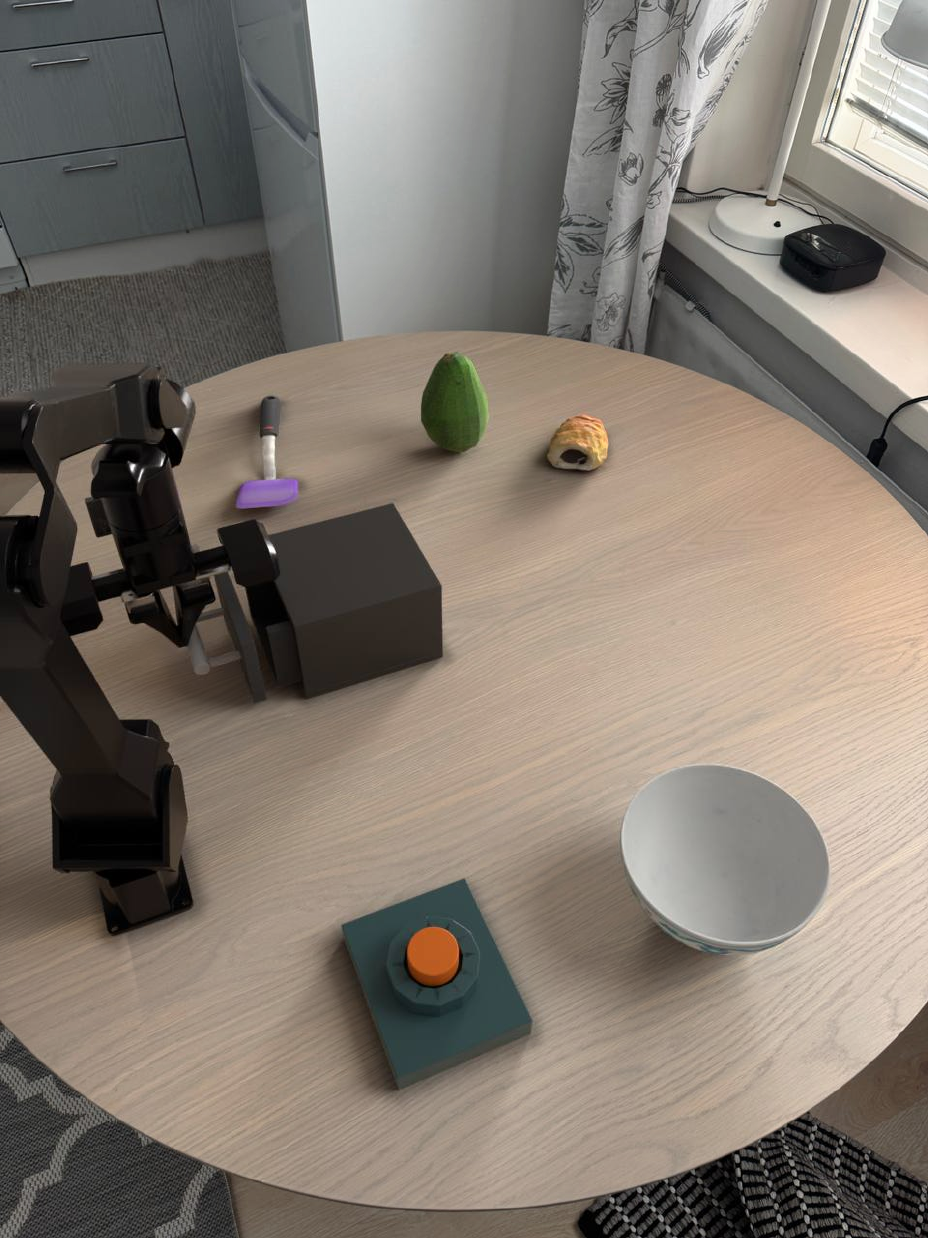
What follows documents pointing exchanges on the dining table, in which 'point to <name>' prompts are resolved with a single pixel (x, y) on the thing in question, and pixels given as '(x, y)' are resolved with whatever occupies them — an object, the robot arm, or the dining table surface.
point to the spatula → (268, 466)
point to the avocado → (454, 404)
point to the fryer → (358, 598)
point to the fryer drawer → (269, 628)
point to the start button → (433, 956)
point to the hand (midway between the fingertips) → (182, 643)
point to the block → (435, 1015)
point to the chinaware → (723, 859)
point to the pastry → (579, 444)
